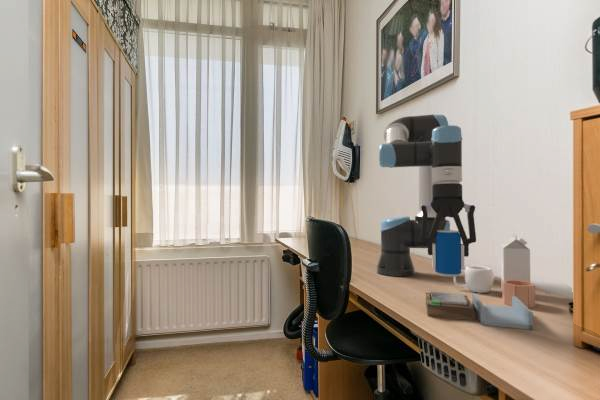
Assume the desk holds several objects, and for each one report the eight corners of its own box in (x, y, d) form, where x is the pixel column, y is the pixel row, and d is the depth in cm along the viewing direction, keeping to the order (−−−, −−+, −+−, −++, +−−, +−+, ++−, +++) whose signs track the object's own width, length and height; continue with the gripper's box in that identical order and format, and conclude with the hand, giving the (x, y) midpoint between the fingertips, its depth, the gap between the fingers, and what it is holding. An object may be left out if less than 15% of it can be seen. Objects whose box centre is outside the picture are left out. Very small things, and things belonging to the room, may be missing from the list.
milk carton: (503, 295, 107) (503, 235, 107) (501, 290, 113) (500, 233, 114) (530, 298, 104) (530, 236, 104) (526, 292, 110) (526, 234, 110)
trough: (472, 307, 95) (472, 293, 96) (515, 311, 92) (515, 296, 92) (481, 324, 82) (481, 308, 82) (532, 329, 79) (532, 312, 79)
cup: (500, 298, 104) (500, 279, 104) (529, 301, 101) (529, 280, 101) (506, 306, 96) (506, 285, 97) (538, 308, 94) (537, 286, 94)
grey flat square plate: (430, 295, 98) (430, 291, 98) (462, 297, 96) (462, 294, 96) (432, 303, 90) (432, 299, 90) (467, 306, 88) (467, 302, 88)
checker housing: (425, 302, 100) (425, 289, 100) (466, 306, 97) (466, 292, 97) (427, 316, 89) (427, 301, 89) (474, 320, 85) (474, 305, 85)
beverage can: (464, 277, 89) (463, 231, 89) (437, 277, 90) (437, 231, 90) (457, 273, 95) (457, 230, 95) (433, 272, 96) (432, 229, 97)
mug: (490, 288, 116) (490, 265, 116) (496, 295, 108) (496, 270, 108) (451, 286, 119) (451, 264, 119) (455, 292, 111) (455, 268, 111)
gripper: (409, 183, 93) (410, 268, 92) (489, 181, 86) (490, 272, 86) (409, 184, 100) (410, 263, 99) (483, 183, 94) (484, 267, 93)
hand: (447, 267), depth 93 cm, fingers closed on beverage can, 6 cm apart
